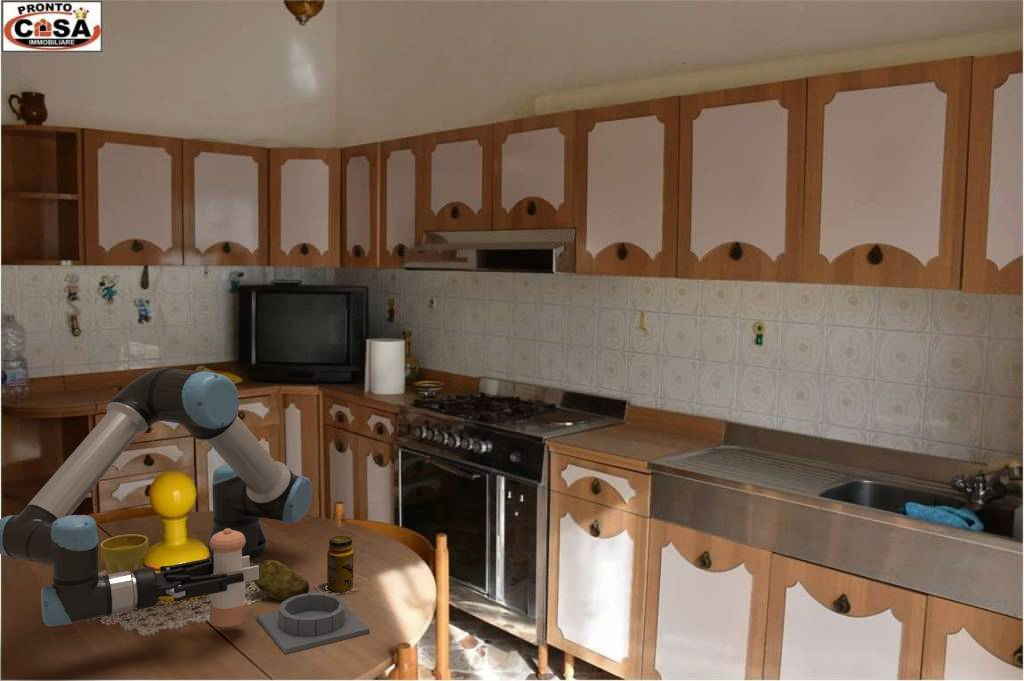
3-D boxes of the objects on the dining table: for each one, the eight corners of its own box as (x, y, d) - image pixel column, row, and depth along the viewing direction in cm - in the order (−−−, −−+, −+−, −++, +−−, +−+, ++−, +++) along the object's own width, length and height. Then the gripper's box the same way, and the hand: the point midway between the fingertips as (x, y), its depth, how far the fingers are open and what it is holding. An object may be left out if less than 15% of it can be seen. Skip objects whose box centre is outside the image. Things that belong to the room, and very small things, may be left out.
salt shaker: (201, 622, 173) (200, 531, 171) (226, 608, 180) (225, 520, 177) (230, 629, 170) (229, 537, 168) (254, 615, 177) (253, 526, 175)
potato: (287, 609, 188) (287, 575, 187) (245, 596, 194) (245, 562, 193) (313, 597, 195) (313, 563, 194) (272, 584, 201) (272, 551, 200)
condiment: (359, 590, 199) (360, 541, 198) (324, 598, 195) (325, 547, 193) (347, 580, 205) (347, 531, 204) (313, 586, 201) (313, 537, 199)
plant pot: (91, 584, 198) (90, 543, 197) (129, 569, 207) (128, 530, 206) (121, 593, 193) (120, 552, 192) (159, 578, 202) (158, 539, 201)
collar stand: (256, 619, 183) (256, 599, 182) (335, 601, 193) (336, 582, 192) (285, 654, 168) (285, 632, 167) (369, 633, 178) (369, 612, 177)
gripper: (124, 591, 172) (240, 569, 185) (143, 627, 157) (268, 600, 170) (123, 555, 171) (240, 536, 184) (142, 588, 156) (267, 564, 169)
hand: (253, 567), depth 177 cm, fingers closed on salt shaker, 5 cm apart
